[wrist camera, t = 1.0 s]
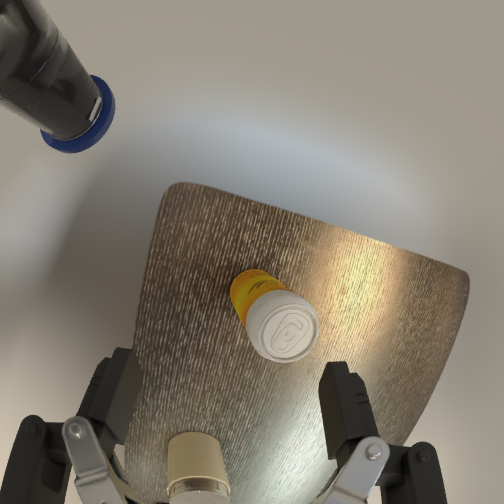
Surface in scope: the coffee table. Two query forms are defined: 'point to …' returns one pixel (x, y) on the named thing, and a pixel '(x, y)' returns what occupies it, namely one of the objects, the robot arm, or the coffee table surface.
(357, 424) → the robot arm
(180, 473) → the jar
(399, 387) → the coffee table surface
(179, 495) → the jar lid
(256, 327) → the beer can
